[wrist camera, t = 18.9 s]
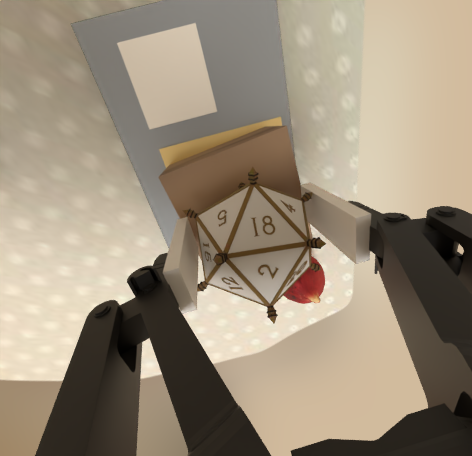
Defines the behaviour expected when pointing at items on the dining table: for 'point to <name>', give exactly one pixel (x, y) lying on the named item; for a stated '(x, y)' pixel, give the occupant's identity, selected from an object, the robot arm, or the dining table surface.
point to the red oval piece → (307, 286)
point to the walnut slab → (232, 171)
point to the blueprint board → (186, 81)
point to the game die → (255, 243)
